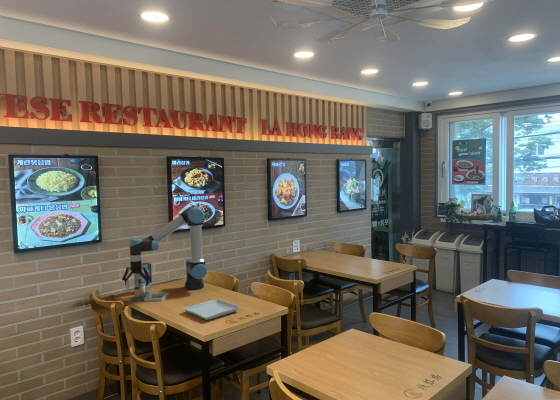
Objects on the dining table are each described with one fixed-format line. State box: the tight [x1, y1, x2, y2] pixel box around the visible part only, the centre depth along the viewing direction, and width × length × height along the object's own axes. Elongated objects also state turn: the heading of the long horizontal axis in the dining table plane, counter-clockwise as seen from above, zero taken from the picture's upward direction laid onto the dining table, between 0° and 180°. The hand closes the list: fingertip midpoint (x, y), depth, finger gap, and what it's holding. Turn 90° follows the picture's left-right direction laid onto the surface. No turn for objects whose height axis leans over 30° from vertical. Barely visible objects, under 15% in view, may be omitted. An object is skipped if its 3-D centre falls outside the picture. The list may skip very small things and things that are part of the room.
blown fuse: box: [133, 286, 141, 298], centre depth 292 cm, size 4×4×9 cm
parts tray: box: [143, 292, 169, 302], centre depth 294 cm, size 13×13×2 cm
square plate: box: [182, 298, 241, 321], centre depth 262 cm, size 27×27×4 cm
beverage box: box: [133, 262, 153, 293], centre depth 312 cm, size 7×11×22 cm, turn 134°
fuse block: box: [130, 292, 150, 302], centre depth 296 cm, size 7×16×3 cm, turn 176°
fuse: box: [139, 283, 145, 295], centre depth 300 cm, size 4×4×9 cm
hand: (136, 289), depth 291 cm, fingers open, 13 cm apart
